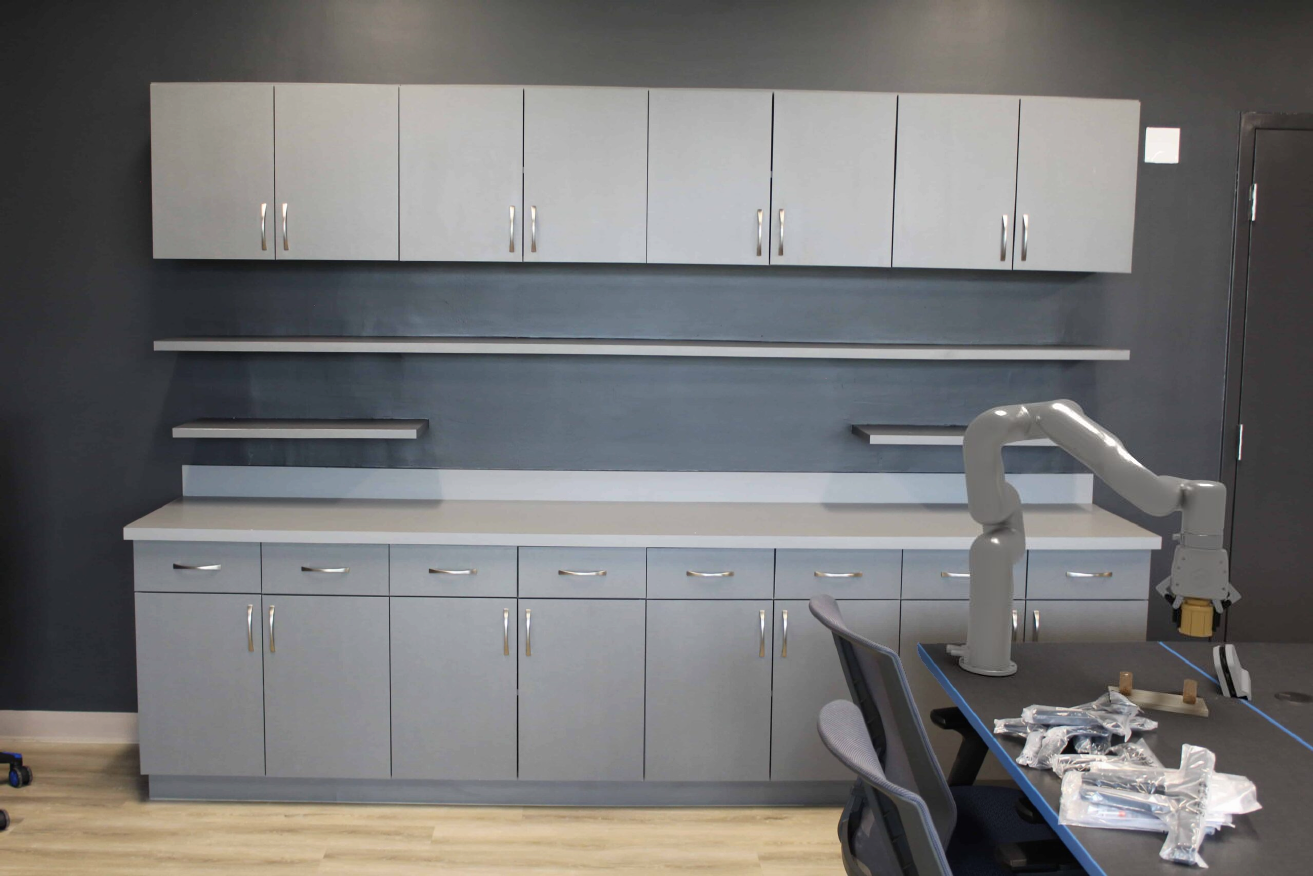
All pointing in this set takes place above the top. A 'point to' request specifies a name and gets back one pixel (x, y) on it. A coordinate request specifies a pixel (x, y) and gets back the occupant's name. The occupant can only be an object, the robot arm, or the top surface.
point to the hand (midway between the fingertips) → (1195, 627)
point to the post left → (1125, 683)
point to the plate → (1165, 702)
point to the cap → (1196, 617)
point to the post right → (1189, 691)
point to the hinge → (1231, 672)
